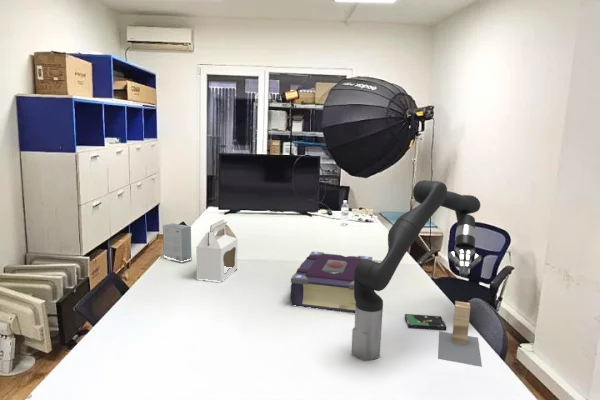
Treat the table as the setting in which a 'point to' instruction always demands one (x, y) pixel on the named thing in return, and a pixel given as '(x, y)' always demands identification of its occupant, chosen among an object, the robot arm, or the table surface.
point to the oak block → (461, 322)
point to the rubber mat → (459, 350)
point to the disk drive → (425, 322)
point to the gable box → (217, 253)
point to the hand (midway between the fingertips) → (463, 276)
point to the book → (326, 282)
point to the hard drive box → (177, 241)
